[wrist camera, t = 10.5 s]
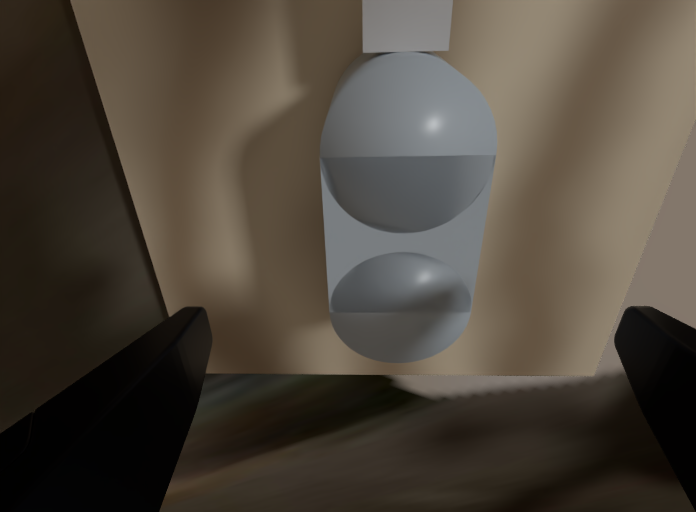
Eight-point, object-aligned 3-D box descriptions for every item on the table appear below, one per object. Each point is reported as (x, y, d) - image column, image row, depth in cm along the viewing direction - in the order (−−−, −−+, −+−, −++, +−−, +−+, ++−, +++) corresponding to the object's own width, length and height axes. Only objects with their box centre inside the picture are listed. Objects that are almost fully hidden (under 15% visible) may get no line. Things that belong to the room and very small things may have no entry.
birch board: (786, -198, 11) (829, -217, 10) (582, 358, 22) (593, 375, 21) (43, -166, 12) (13, -181, 11) (195, 355, 22) (186, 373, 21)
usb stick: (441, 287, 18) (462, 363, 14) (338, 287, 18) (332, 362, 14) (480, -56, 12) (533, -80, 8) (323, -51, 12) (305, -72, 8)
